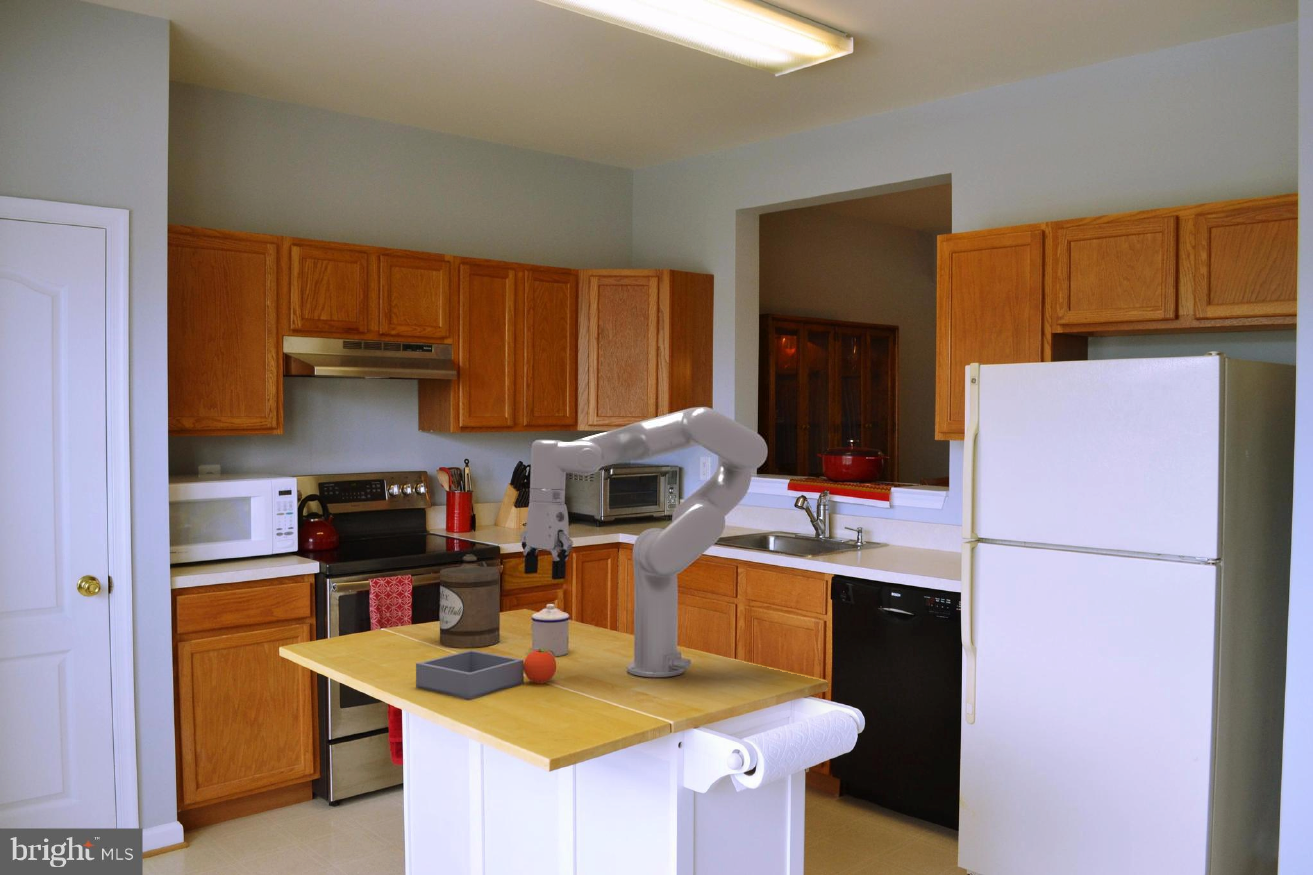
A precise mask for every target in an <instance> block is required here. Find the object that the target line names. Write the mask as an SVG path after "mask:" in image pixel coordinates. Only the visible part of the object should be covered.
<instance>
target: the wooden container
mask: <svg viewBox="0 0 1313 875" xmlns="http://www.w3.org/2000/svg"><path fill="white" fill-rule="evenodd" d="M462 560H463V564H462V565H461V566H457V567H456V566H455V567H448V568H443V569H440V570H439V583H440V587H439V592H440V593H439V643H440V645H441V646H445V647H449V648H456V649H457V648H458V649H475V648H474V647H477V648H484V647H489V645H490V646H492V645H493V644H494V645H496V644H498V643H499V642H500V639H501V638H500V637H501V636H500V634H501V632H500V631H501V630H500V629H501V628H500V627H501V626H500V625H501V624H500V623H501V616H500V615H501V614H500V613H501V612H500V583H499V581H500V573H499V568H497V567H491V566H479V565H478V564H477V563H476V562H477V560H478V559H477V556H475V555H474V554H471V553H470V554H469V553H468V554H465V556H463V557H462ZM494 645H493V646H494Z"/></svg>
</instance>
